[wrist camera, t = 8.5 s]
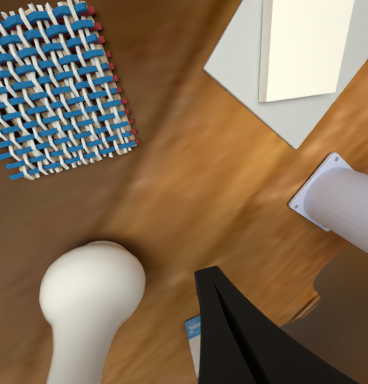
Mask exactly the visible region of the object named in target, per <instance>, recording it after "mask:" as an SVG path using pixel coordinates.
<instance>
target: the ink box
mask: <svg viewBox="0 0 368 384" xmlns="http://www.w3.org/2000/svg"><path fill="white" fill-rule="evenodd" d="M185 327H186V331H187V336H188V340H189V345H190V350H191V354H192V358H193V363H194V368H195V372H196V377H197V381H198V376H199V360H200V315H199V316H197V317H195V318H192V319H190V320H188V321H186V322H185Z"/></svg>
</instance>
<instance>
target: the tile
mask: <svg viewBox="0 0 368 384" xmlns="http://www.w3.org/2000/svg"><path fill="white" fill-rule="evenodd" d="M353 5H354V0H264V1H263V21H262V41H261V61H260V81H259V101H258V102H269V101H277V100H284V99H291V98H298V97H305V96H312V95H319V94H326V93H333V92H336V87H337V82H338V77H339V72H340V68H341V63H342V58H343V53H344V48H345V43H346V39H347V34H348V29H349V24H350V19H351V14H352V10H353Z"/></svg>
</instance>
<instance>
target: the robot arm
mask: <svg viewBox="0 0 368 384" xmlns="http://www.w3.org/2000/svg"><path fill="white" fill-rule="evenodd" d="M288 206H289V207H290V208H292V209H293V210H295V211H296V212H298V213H299V214H301V215H302V216H304V217H305V218H307V219H308V220H310V221H311V222H313V223H314V224H316V225H317V226H319V227H321V228H322V229H324V230H325V231H330V230H332V231H333V232H335V233H336V234H338V235H339V236H341V237H343V238H344V239H346V240H347V241H349V242H350V243H352V244H354V245H355V246H357V247H358V248H360V249H361V250H363V251H365V252H366V253H368V174H364V173H361V172H357V171H354V170H353V169H352V168H351V167H350V166H349V165H348V164H347V163H346V162H345V161H344V160H343V159H342V158H341V157H340V156H339V155H338V154H337V153H335V152H332V153H330V154H329V155H328V157H327V158H326V159H325V160H324V161H323V163H322V164H321V165H320V166H319V167H318V169H317V170H316V171H315V172H314V173H313V175H312V176H311V177H310V178H309V179H308V181H307V182H306V183H305V184H304V185H303V187H302V188H301V189H300V190H299V191H298V193H297V194H296V195H295V196H294V197H293V199H292V200H291V201H290V202H289V204H288ZM194 275H195V282H196V290H197V296H198V300H199V304H200V360H199V376H198V384H359V383H358V382H356V381H354V380H353V379H351V378H350V377H348V376H346V375H345V374H343V373H342V372H340V371H339V370H337V369H336V368H334V367H332V366H331V365H330V364H328V363H326V362H325V361H324V360H322V359H321V358H319V357H318V356H316V355H315V354H314V353H312V352H311V351H309V350H308V349H307V348H305V347H304V346H302V345H301V344H300V343H298V342H297V341H296V340H294V339H293V338H292V337H290V336H289V335H288V334H287V333H285V332H284V331H283V330H282V329H280V328H279V327H278V326H277V325H276V324H274V323H273V322H272V321H271V320H270V319H268V318H267V317H266V316H265V315H264V314H263V313H262V312H260V311H259V310H258V309H257V308H256V307H255V306H254V305H253V304H252V303H251V302H250V301H249V300H248V299H247V298H246V297H245V296H244V295H243V294H242V293H241V292H240V291H239V290H238V289H237V288H236V287H235V286H234V285H233V284H232V283H231V281H230V280H229V279H228V278H227V277H226V276H225V275H224V273H223V272H222V271H221V270H220V268H219V267H218V266H213V267H209V268H205V269H202V270H198V271H196V272H195V273H194Z"/></svg>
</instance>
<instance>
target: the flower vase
mask: <svg viewBox="0 0 368 384" xmlns="http://www.w3.org/2000/svg"><path fill="white" fill-rule="evenodd" d="M145 282H146V276H145V272H144V269H143V266H142V265H141V263H140V262H139V261H138V259H137V258H136V257H135V256H134V255H132V254H131V253H130V252H128V251H127V250H126V249H125V248H124V247H122V246H121V245H120V244H117V243H115V242H111V241H95V242H91V243H88V244H86V245H84V246H81V247H77V248H75V249H73V250H71V251H69V252H67V253H65V254H63V255H62V256H61V257H59V258H58V259H57V260H56V261H54V262H53V263H52V264H51V265H50V267H49V268H48V270H47V272H46V273H45V275H44V276H43V279H42V283H41V288H40V293H39V301H40V305H41V310H42V313H43V315H44V317H45V318H46V320H47V321H48V322H49V324H50V325H51V327H52V332H53V353H52V360H51V366H50V371H49V375H48V379H47V383H46V384H101V381H102V376H103V371H104V367H105V362H106V359H107V355H108V352H109V349H110V346H111V343H112V341H113V339H114V337H115V335H116V333H117V331H118V329H119V327H120V326H121V325H122V324H123V323H124V322H125V321H127V320H128V318H129V317H130V316H131V315H132V314H133V312H134V311H135V310H136V309H137V307H138V306H139V304H140V301H141V299H142V297H143V294H144V291H145Z"/></svg>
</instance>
